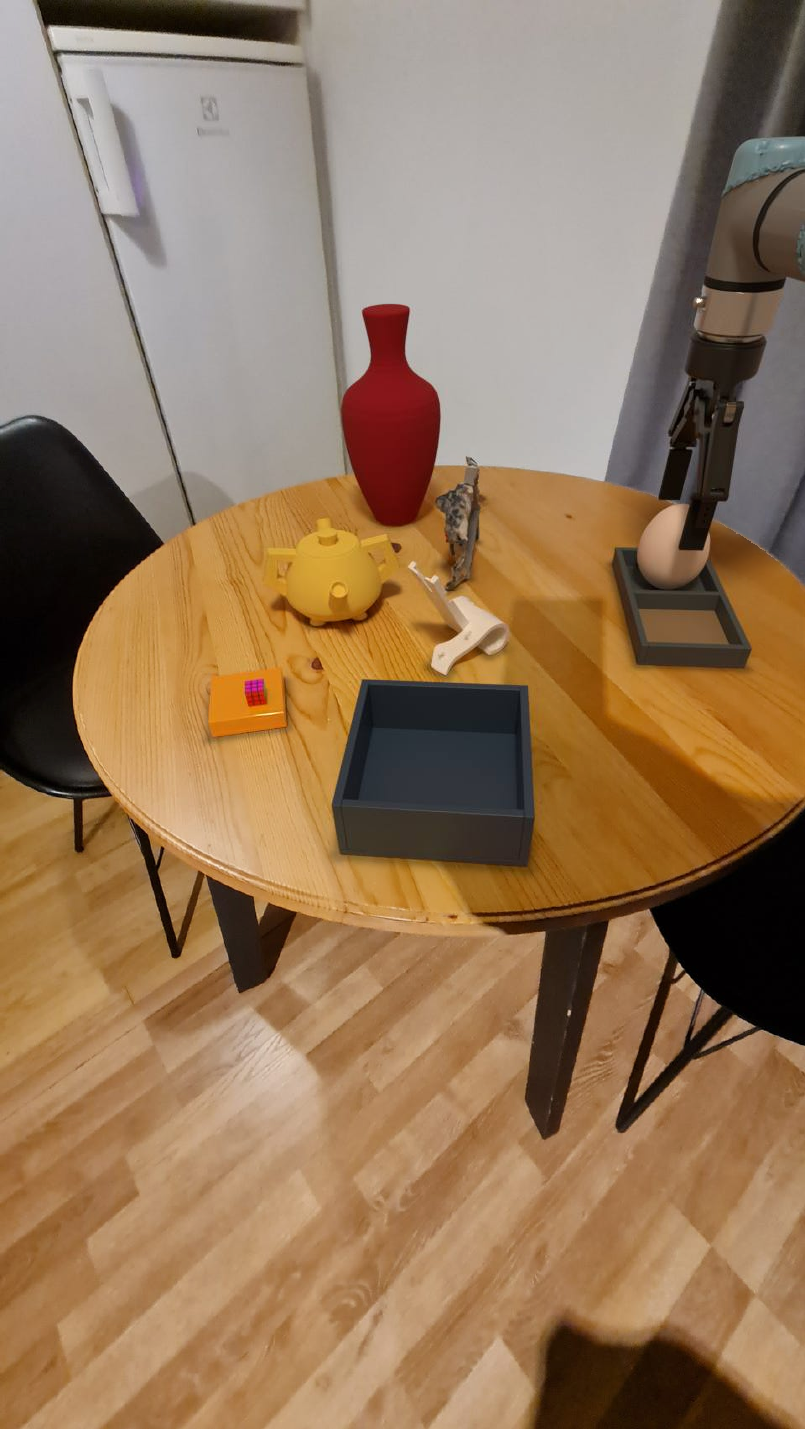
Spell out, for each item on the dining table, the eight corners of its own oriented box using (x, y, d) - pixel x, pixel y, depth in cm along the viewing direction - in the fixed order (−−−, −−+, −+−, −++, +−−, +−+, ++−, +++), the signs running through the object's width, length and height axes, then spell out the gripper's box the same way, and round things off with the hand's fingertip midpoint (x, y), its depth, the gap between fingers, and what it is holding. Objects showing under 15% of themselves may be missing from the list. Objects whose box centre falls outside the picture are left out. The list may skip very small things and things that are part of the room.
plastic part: (508, 647, 81) (517, 563, 73) (443, 677, 77) (445, 591, 69) (469, 619, 85) (474, 537, 77) (407, 646, 81) (405, 563, 73)
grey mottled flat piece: (452, 540, 102) (453, 455, 93) (479, 542, 101) (483, 456, 92) (435, 591, 91) (434, 500, 82) (466, 593, 90) (468, 502, 81)
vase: (376, 548, 101) (360, 326, 80) (336, 512, 110) (313, 306, 90) (457, 524, 106) (462, 309, 85) (412, 492, 115) (406, 292, 95)
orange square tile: (212, 737, 71) (203, 708, 68) (215, 691, 76) (207, 662, 74) (287, 727, 71) (280, 697, 68) (284, 681, 77) (278, 652, 74)
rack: (699, 566, 93) (704, 548, 91) (744, 668, 76) (752, 648, 74) (611, 564, 94) (615, 547, 92) (636, 664, 77) (641, 645, 75)
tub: (522, 734, 69) (528, 685, 64) (527, 867, 57) (534, 817, 52) (367, 727, 71) (362, 678, 66) (339, 854, 59) (331, 805, 54)
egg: (686, 569, 92) (709, 490, 84) (706, 602, 85) (732, 520, 78) (624, 570, 92) (640, 491, 85) (638, 604, 86) (658, 522, 78)
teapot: (415, 640, 82) (413, 561, 75) (272, 660, 80) (255, 581, 73) (388, 563, 97) (384, 490, 89) (267, 579, 95) (252, 505, 87)
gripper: (669, 307, 78) (633, 481, 92) (721, 368, 60) (666, 572, 74) (735, 306, 77) (689, 481, 92) (808, 367, 59) (736, 574, 73)
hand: (679, 522), depth 83 cm, fingers open, 13 cm apart
